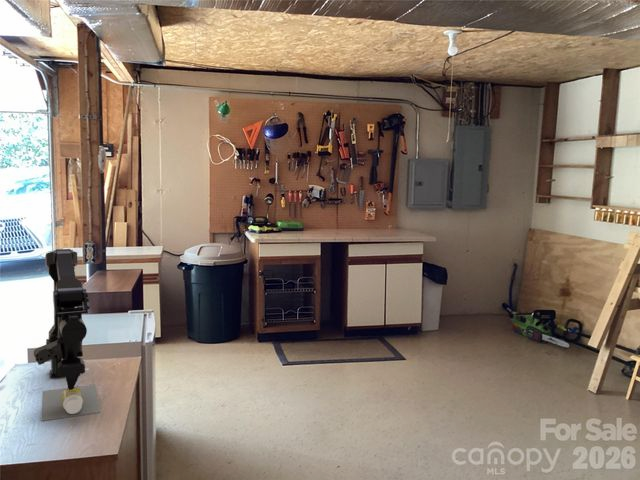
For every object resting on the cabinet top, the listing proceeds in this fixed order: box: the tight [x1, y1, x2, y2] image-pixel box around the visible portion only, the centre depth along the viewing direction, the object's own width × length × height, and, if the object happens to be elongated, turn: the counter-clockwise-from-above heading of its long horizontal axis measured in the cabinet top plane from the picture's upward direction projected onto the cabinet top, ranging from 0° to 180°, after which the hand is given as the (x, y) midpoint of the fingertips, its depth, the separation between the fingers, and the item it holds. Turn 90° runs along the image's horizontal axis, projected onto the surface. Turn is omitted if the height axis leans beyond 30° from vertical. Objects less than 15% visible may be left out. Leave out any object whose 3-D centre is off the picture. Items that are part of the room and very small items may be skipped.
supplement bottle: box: [62, 386, 83, 414], centre depth 141 cm, size 5×5×8 cm
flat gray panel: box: [40, 384, 101, 422], centre depth 146 cm, size 20×14×1 cm
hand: (70, 389), depth 140 cm, fingers closed
